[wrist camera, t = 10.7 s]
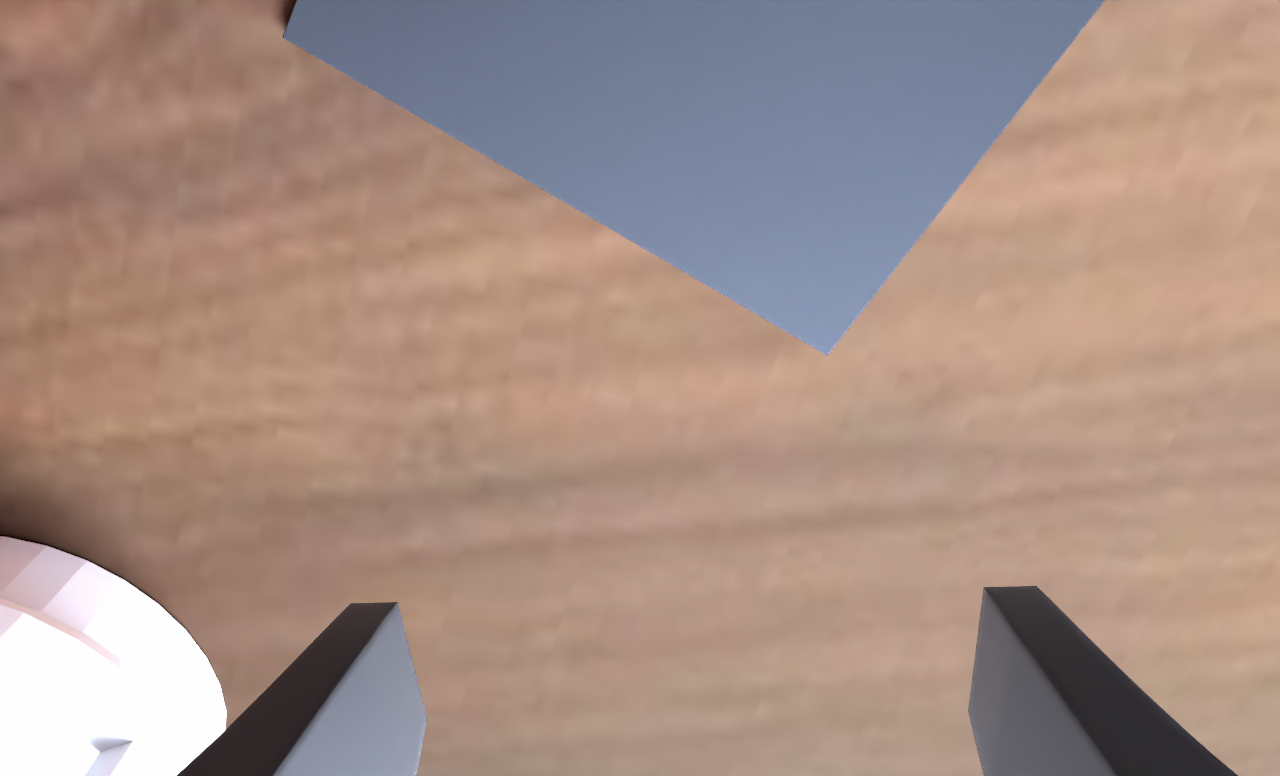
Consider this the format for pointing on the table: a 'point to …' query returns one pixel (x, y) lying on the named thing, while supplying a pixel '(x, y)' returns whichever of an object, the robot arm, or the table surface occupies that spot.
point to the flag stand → (95, 673)
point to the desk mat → (721, 119)
